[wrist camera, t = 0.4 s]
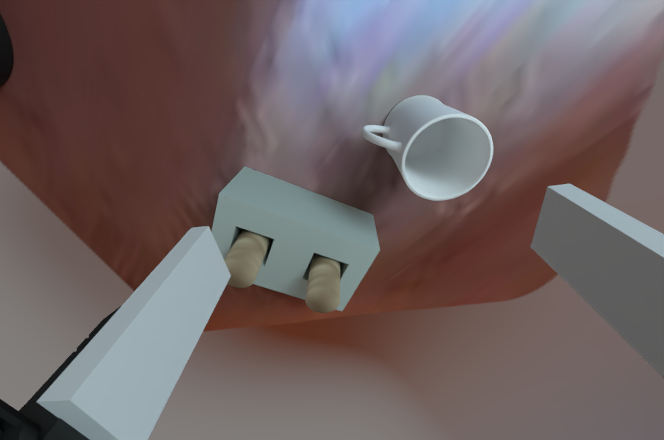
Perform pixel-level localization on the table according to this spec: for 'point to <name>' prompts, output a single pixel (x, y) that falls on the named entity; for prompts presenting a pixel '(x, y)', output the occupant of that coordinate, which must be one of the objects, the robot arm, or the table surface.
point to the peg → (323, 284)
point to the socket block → (295, 232)
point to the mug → (434, 147)
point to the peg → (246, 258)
